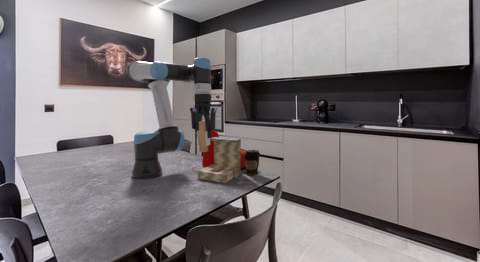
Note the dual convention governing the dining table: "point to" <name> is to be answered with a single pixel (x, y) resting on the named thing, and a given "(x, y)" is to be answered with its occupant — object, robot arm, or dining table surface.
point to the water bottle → (209, 152)
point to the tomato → (243, 158)
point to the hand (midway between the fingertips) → (203, 144)
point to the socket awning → (223, 160)
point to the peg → (202, 137)
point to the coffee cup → (252, 162)
